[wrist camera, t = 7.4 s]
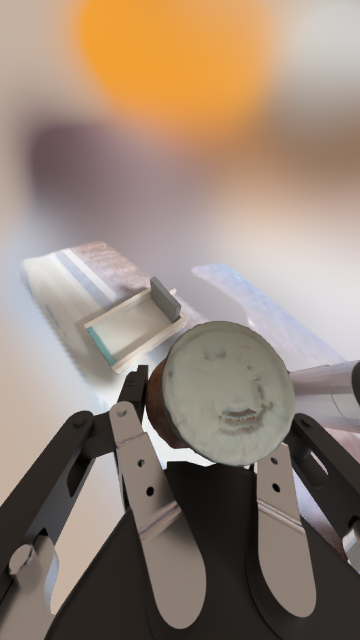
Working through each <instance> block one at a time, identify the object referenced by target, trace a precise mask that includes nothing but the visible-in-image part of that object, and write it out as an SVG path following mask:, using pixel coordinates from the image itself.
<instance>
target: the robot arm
mask: <svg viewBox="0 0 360 640" xmlns="http://www.w3.org/2000/svg"><path fill="white" fill-rule="evenodd" d="M289 376H290V379H291V381H292V384H293V387H294V394H295V415H294V418H293V420H292V423H291V427H290V431H289V432H288V434H287V436H286V437H285V439H284V440H283V441H282V443H281V444H280V445H279V447H278V448H277V449H276V450H274V451H273V452H272V453H270V454H269V455H268V456H267V457H265V458H263V459H261V460H259V461H257V462H255V463H254V464H251V465H248V466H245V467H237V466H228V465H224V464H221V463H216V464H213V465H210V466H207V467H205V466H201V465H198V464H194V463H190V462H187V461H168V462H167V469H164V470H163V469H162V467H161V464H160V462H159V459H158V457H157V455H156V452H155V450H154V447H153V445H152V442H151V440H150V438H149V435H148V434H147V432H145V433H144V431H143V429H142V420H143V414H144V407H145V395H146V388H147V383H148V365H138V368H137V372H135V371H131V372H130V373H129V374H128V375H127V376H126V379H125V382H124V384H123V387H122V390H121V393H120V395H119V398H118V401H117V403H116V404H115V405H113V406H112V408H111V409H110V411H108V412H106V413H103V414H99V415H95V416H93V414H92V413H91V412H90V411H80V412H77V413H75V414H73V415H72V416H70V417H69V418H68V419H67V420H66V422H65V423H64V424H63V426H62V427H61V428H60V430H59V431H58V432H57V434H56V435H55V436H54V437H53V439H52V440H51V441H50V443H49V444H48V445H47V447H46V448H45V449H44V451H43V452H42V453H41V454H40V456H39V457H38V458H37V460H36V461H35V462H34V464H33V465H32V466H31V468H30V469H29V470H28V471H27V473H26V474H25V475H24V477H23V478H22V479H21V481H20V482H19V483H18V485H17V486H16V487H15V488H14V490H13V491H12V492H11V494H10V495H9V497H8V498H7V499H6V500H5V502H4V503H3V504H2V506H1V507H0V640H360V464H359V463H358V462H357V461H356V460H355V459H354V458H353V457H352V456H351V455H350V454H349V453H348V452H347V451H346V450H345V449H344V448H343V447H342V446H341V445H340V444H339V443H338V442H337V441H336V440H335V439H334V438H333V437H332V436H331V435H330V434H329V433H328V432H327V431H326V430H325V429H324V428H323V427H325V428H331V429H337V430H343V431H348V432H354V433H360V360H356V361H351V362H346V363H341V364H336V365H331V366H330V365H323V366H318V367H313V368H309V369H304V370H299V371H294V372H291V373H290V374H289ZM110 452H113V454H114V459H115V464H116V469H117V474H118V479H119V484H120V492H121V497H122V503H123V507H124V512H125V514H124V515H123V517H122V518H121V520H120V521H119V523H118V524H117V526H116V527H115V528H114V530H113V531H112V533H111V534H110V536H109V537H108V539H107V540H106V542H105V543H104V544H103V546H102V547H101V549H100V550H99V552H98V553H97V555H96V556H95V557H94V559H93V560H92V562H91V563H90V565H89V566H88V568H87V569H86V571H85V572H84V573H83V575H82V577H81V578H80V579H79V581H78V582H77V584H76V585H75V587H74V588H73V589H72V591H71V593H70V594H69V595H68V597H67V598H66V600H65V601H64V603H63V604H62V606H61V607H60V609H59V611H58V612H57V614H56V615H54V614H51V610H50V603H51V596H52V591H53V588H54V585H55V582H56V579H57V575H58V569H59V560H58V556H57V553H56V551H55V548H54V546H55V544H56V542H57V540H58V538H59V536H60V534H61V531H62V529H63V527H64V525H65V523H66V521H67V519H68V517H69V515H70V512H71V510H72V508H73V506H74V504H75V502H76V500H77V498H78V495H79V493H80V491H81V489H82V487H83V485H84V483H85V480H86V479H87V476H88V474H89V472H90V470H91V468H92V466H93V464H94V462H95V459H96V457H99V456H102V455H104V454H107V453H110ZM311 452H313V453H314V454H315V455H316V456H317V458H318V459H319V460H320V461H321V462H322V464H323V465H324V466H325V468H326V469H327V472H328V475H327V474H326V472H325V471H324V470H323V469H322V467H321V466H320V465H319V464H318V463H317V461H316V460H315V459H314V458H313V456H312V455H311ZM292 468H293V469H294V471H295V472H296V474H297V475H298V476H299V478H300V479H301V481H302V482H303V484H304V485H305V487H306V488H307V490H308V491H309V493H310V494H311V496H312V497H313V499H314V500H315V502H316V503H317V504H318V506H319V507H320V509H321V510H322V512H323V513H324V515H325V516H326V518H327V519H328V521H329V522H330V524H331V525H332V527H333V528H334V530H335V531H336V532H337V534H338V535H339V537H340V538H341V540H342V541H343V547H344V550H345V553H346V555H347V557H348V562H347V561H346V560H345V559H344V558H343V557H342V556H341V555H340V554H339V553H338V552H337V551H336V550H335V549H334V548H333V547H332V546H331V545H330V544H329V543H328V542H327V541H326V540H325V539H324V538H323V537H322V536H321V535H320V534H319V533H318V532H317V531H316V530H315V529H314V528H313V527H312V526H311V525H310V524H309V523H308V522H307V521H306V520H305V519H304V518H303V517H302V516H301V515H300V514H299V509H298V503H297V497H296V490H295V484H294V478H293V471H292Z"/></svg>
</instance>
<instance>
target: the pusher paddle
mask: <svg viewBox="0 0 360 640" xmlns="http://www.w3.org/2000/svg"><path fill="white" fill-rule="evenodd" d="M150 284H151V295H152V300H153V301H154V302H155V303H156V304H157V306H158V307H159V308H160V309H161V310H162V312H163V313H164V314H165V315H166V316H167V318H168V319H169V320H170V321H171V322H172V323H175V322H176V321H178V319H179V315H180V310H181V305H180V304H179V303H178V301H177V300H176V299H175V298H174V297H173V296H172V295H173V294H175V293H176V289H175V288H172V289H170V290H169V291H168V290H167V289H166V288H165V287H164V286H163V285H162V283H161V282H160V281H159V280H158V279H157V278H156V277H152V278H151V279H150Z"/></svg>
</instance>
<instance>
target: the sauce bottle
mask: <svg viewBox="0 0 360 640" xmlns="http://www.w3.org/2000/svg"><path fill="white" fill-rule="evenodd" d="M145 406H146V412H147V415H148V419H149V421H150V423H151V425H152V426H153V428H154V429H155V430H156V432H157V433H158V435H159V436H160V437H161V438H162V439H163V440H165V441H166V442H167V444H168V445H169V446H170V447H171V448H174V449H180V448H190V449H192V450H193V451H194V452H195V453H197V454H199V455H201V456H202V457H204V458H206V459H208V460H209V461H211V462H214V463H221V464H224V465H228V466H237V467H244V466H248V465H251V464H254V463H255V462H257V461H259V460H261V459H263V458H265V457H267V456H268V455H269V454H270V453H272V452H273V451H274V450H276V449H277V448H278V447H279V445H280V444H281V443H282V441H283V440H284V439H285V437H286V436H287V434H288V432H289V431H290V427H291V423H292V420H293V418H294V415H295V394H294V387H293V384H292V381H291V379H290V376H289V374H288V371H287V369H286V367H285V365H284V362H283V360H282V359H281V358H280V356H279V355H278V354H277V353H276V351H275V350H274V349H273V347H272V346H271V345H270V344H269V343H268V342H267V341H266V340H265V339H264V338H263V337H262V336H261V335H259V334H258V333H256V332H254V331H252V330H251V329H249V328H248V327H245V326H242V325H240V324H237V323H232V322H227V321H212V322H207V323H204V324H198V325H196V326H195V327H193V328H192V329H189V330H188V331H186V332H185V333H184V334H183V335H181V336H180V337H179V338H178V339H177V340H176V342H175V343H174V344H173V346H172V347H171V349H170V351H169V353H168V355H167V357H166V358H165V359H164V360H163V361H162V362H160V364H159V365H158V366H157V367H156V368H155V369H154V371H153V372H152V374H151V376H150V378H149V380H148V383H147V388H146V395H145Z"/></svg>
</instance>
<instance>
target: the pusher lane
mask: <svg viewBox="0 0 360 640" xmlns="http://www.w3.org/2000/svg"><path fill="white" fill-rule="evenodd" d="M187 320H188V318H187V317H186V316H185V314H184V313H183V312H182V311H181V310H180V315H179V319H178V321H176V322H175V323H172V322H171V321H170V320H169V319H168V318H167V316H166V315H165V314H164V313H163V312H162V310H161V309H160V308H159V307H158V306H157V304H156V303H155V302H154V301H153V300H152V295H151V287H149V288H147V289H146V290H144V291H142V292H140V293H139V294H137V295H135V296H133V297H132V298H130V299H128V300H126V301H125V302H123V303H121V304H120V305H118V306H116V307H114V308H113V309H111V310H109V311H107V312H106V313H104V314H102V315H100V316H99V317H97V318H95V319H93V320H92V321H90V322H88V323H86V324H85V325H84V326H85V328H86V329H87V331H88V333H89V334H90V336H91V337H92V339H93V340H94V342H95V343H96V345H97V346H98V348H99V349H100V351H101V353H102V354H103V356H104V357H105V359H106V360H107V362H108V363H109V365H110V366H111V368H112V370H113V371H114V372H116V373H117V374H120V373H121V372H122V371H124V370H125V369H127V368H128V367H129V366H131V365H132V364H134V363H135V362H136V361H138V360H139V359H140V358H142V357H143V356H145V355H146V354H147V353H149V352H150V351H151V350H153V349H154V348H156V347H157V346H158V345H160V344H161V343H162V342H164V341H165V340H167V339H168V338H169V337H171V336H172V335H173V334H175V333H176V332H178V331H179V330H180V329H182V328H183V327H184V326H186V323H187Z"/></svg>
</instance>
